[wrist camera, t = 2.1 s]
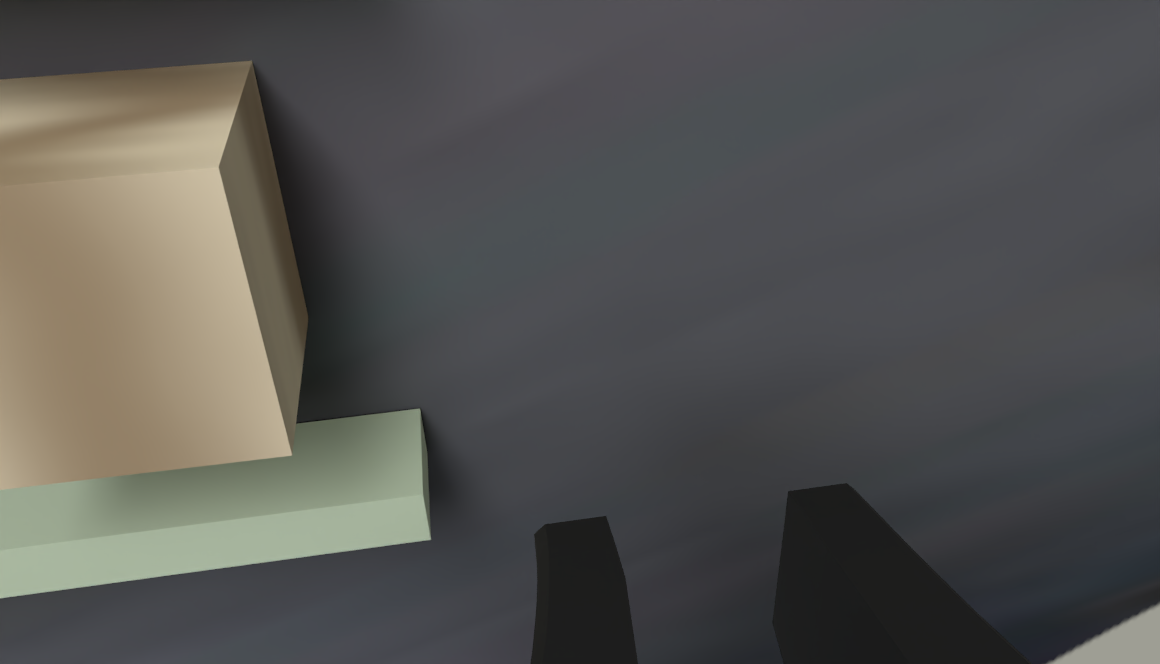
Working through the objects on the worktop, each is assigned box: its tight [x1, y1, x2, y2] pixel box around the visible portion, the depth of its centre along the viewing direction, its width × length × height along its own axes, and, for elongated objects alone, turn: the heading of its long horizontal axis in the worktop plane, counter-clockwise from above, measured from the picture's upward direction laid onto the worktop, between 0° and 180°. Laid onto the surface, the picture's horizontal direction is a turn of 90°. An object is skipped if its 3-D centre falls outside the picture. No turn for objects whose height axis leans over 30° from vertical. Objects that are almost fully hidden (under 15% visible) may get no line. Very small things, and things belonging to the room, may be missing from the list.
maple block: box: [0, 61, 308, 490], centre depth 16 cm, size 5×5×4 cm
